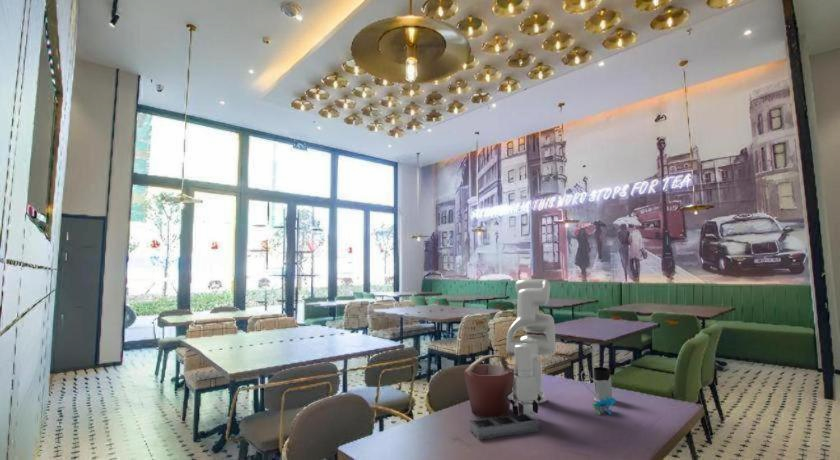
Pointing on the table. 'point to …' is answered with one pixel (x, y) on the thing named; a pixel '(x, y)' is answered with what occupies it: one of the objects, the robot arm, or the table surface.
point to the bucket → (489, 387)
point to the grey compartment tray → (503, 425)
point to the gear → (604, 404)
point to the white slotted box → (525, 408)
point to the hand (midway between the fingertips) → (525, 413)
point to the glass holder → (601, 383)
